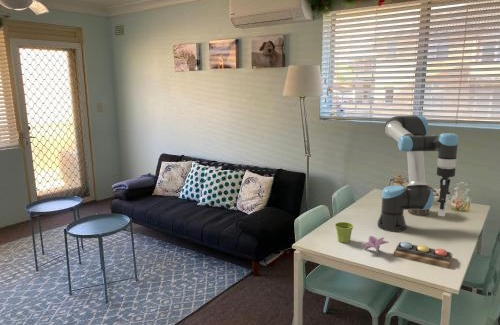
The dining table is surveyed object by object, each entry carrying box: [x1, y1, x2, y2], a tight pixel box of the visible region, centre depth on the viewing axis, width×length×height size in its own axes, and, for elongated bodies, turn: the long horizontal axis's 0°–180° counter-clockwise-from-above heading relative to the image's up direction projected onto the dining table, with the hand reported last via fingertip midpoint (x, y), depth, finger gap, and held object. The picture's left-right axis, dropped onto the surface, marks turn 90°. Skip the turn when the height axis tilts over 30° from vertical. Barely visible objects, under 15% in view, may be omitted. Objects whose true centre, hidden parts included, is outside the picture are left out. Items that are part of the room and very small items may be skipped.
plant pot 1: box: [334, 221, 354, 244], centre depth 195 cm, size 9×9×9 cm
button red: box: [434, 248, 448, 257], centre depth 170 cm, size 5×5×2 cm
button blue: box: [400, 241, 413, 249], centre depth 178 cm, size 5×5×2 cm
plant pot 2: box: [404, 186, 435, 217], centre depth 234 cm, size 16×16×16 cm
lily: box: [362, 235, 390, 257], centre depth 179 cm, size 12×12×10 cm
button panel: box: [393, 241, 454, 269], centre depth 175 cm, size 23×12×4 cm, turn 56°
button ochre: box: [417, 244, 430, 253], centre depth 174 cm, size 5×5×2 cm
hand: (442, 211), depth 175 cm, fingers open, 13 cm apart
